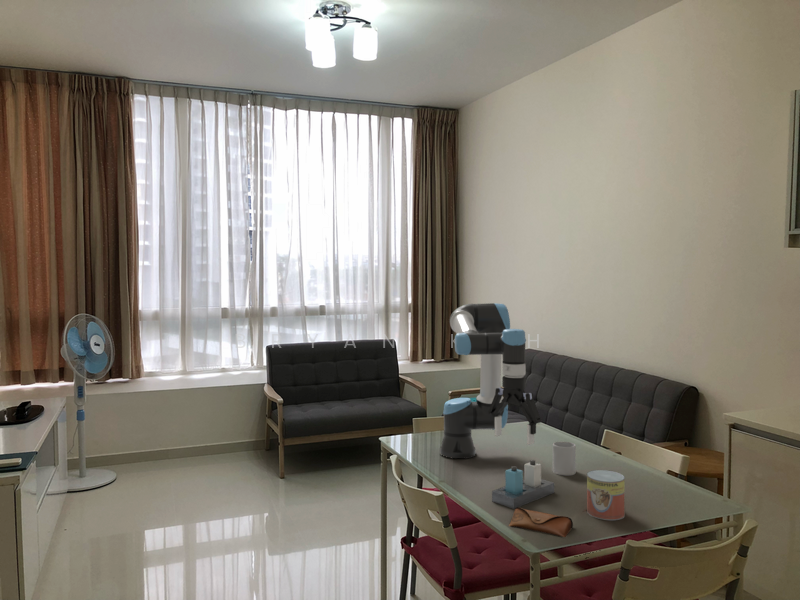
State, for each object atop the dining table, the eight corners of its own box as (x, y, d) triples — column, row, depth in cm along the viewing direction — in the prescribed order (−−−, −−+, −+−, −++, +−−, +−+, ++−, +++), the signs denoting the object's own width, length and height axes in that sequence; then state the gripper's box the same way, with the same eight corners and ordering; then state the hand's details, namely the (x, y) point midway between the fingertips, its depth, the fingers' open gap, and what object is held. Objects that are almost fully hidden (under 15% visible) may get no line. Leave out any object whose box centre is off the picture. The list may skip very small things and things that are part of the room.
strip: (513, 510, 190) (513, 498, 190) (492, 502, 197) (491, 491, 196) (554, 494, 204) (554, 482, 204) (532, 487, 211) (532, 476, 211)
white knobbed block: (524, 493, 204) (524, 460, 203) (531, 490, 206) (531, 458, 206) (534, 496, 201) (533, 463, 200) (541, 493, 203) (541, 461, 203)
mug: (579, 475, 223) (579, 446, 223) (558, 477, 222) (558, 448, 221) (565, 465, 235) (565, 438, 235) (545, 467, 234) (545, 439, 233)
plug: (505, 500, 197) (505, 466, 197) (513, 497, 200) (513, 464, 200) (515, 503, 194) (515, 469, 194) (522, 500, 197) (522, 467, 197)
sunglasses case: (505, 526, 178) (509, 503, 181) (512, 530, 183) (515, 508, 186) (566, 538, 169) (569, 514, 172) (571, 542, 175) (574, 518, 177)
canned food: (582, 515, 186) (582, 477, 185) (592, 503, 195) (592, 467, 195) (619, 523, 179) (619, 484, 179) (628, 511, 189) (628, 473, 188)
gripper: (478, 372, 203) (478, 434, 204) (538, 382, 184) (538, 449, 185) (492, 370, 208) (492, 430, 209) (552, 379, 189) (552, 445, 190)
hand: (514, 439), depth 197 cm, fingers open, 13 cm apart
